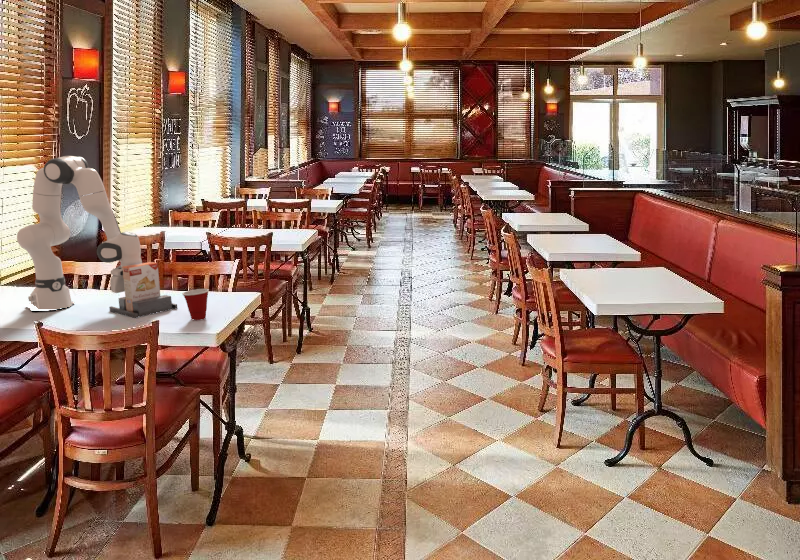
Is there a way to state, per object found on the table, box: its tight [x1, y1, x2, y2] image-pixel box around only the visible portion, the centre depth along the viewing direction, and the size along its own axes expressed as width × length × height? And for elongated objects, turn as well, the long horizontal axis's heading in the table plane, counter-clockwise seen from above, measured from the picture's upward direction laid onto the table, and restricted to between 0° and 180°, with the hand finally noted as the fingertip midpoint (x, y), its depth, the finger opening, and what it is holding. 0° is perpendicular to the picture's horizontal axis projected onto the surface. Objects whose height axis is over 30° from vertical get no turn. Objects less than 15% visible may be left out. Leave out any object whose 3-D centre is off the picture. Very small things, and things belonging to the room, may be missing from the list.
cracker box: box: [122, 261, 161, 312], centre depth 316 cm, size 14×6×21 cm, turn 141°
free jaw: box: [117, 296, 127, 310], centre depth 321 cm, size 5×16×6 cm, turn 140°
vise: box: [108, 294, 178, 319], centre depth 319 cm, size 22×20×6 cm
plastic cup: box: [182, 288, 210, 321], centre depth 301 cm, size 11×11×12 cm
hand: (134, 299), depth 323 cm, fingers closed, pressing on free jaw
